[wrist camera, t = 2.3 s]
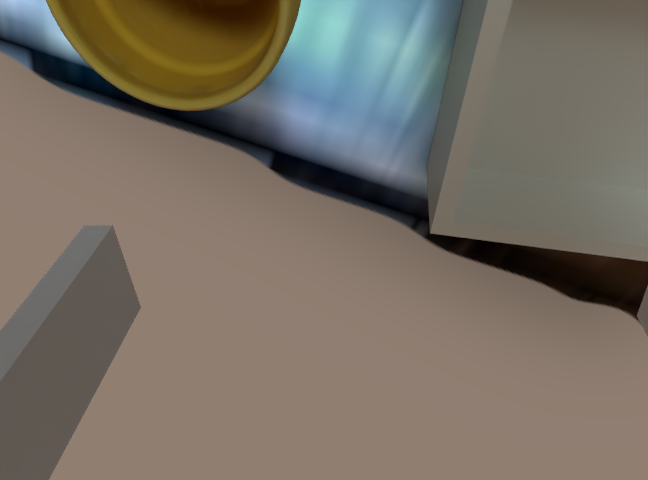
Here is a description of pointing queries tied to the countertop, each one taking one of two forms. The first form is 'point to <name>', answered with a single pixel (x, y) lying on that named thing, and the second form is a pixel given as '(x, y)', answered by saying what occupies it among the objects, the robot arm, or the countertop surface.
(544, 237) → the crate
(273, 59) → the plant pot
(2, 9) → the countertop surface
